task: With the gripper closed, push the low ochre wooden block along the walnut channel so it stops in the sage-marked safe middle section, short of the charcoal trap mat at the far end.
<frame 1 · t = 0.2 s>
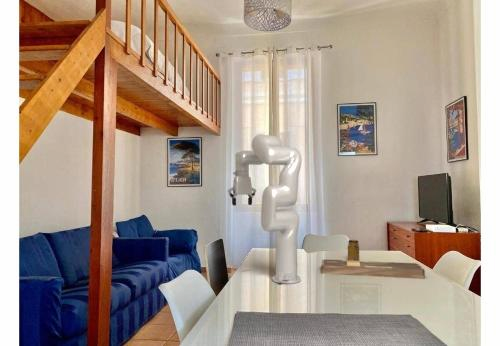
hand: (242, 205, 207), 31 cm above the table, tool pointing down, fingers open, 9 cm apart
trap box: (370, 272, 180), on the table
condiment: (354, 263, 203), on the table
block: (353, 272, 182), resting in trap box
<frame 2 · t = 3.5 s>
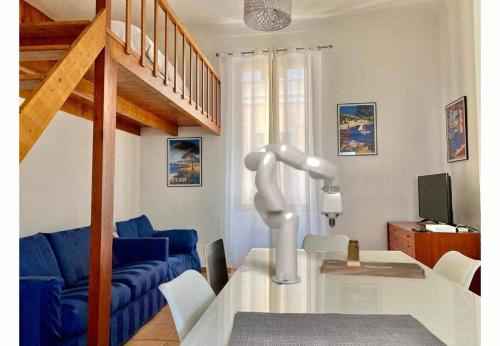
hand: (332, 226, 184), 22 cm above the table, tool pointing down, fingers closed
nothing on the table moved.
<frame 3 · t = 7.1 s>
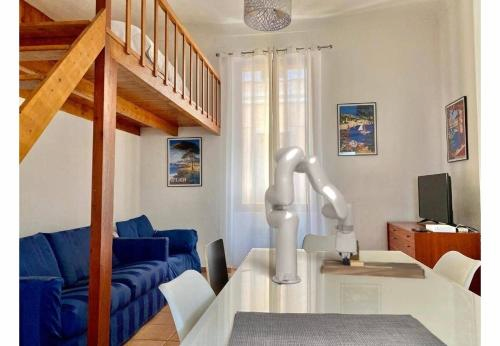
hand: (345, 266, 183), 3 cm above the table, tool pointing down, fingers closed
block: (356, 272, 181), resting in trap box, touching gripper
everything else where it was.
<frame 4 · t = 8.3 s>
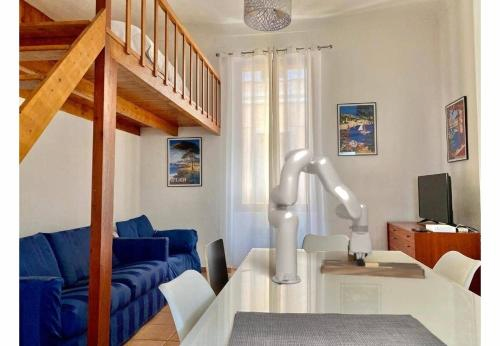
hand: (360, 266, 181), 3 cm above the table, tool pointing down, fingers closed
block: (371, 273, 180), resting in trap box, touching gripper
everything else where it was.
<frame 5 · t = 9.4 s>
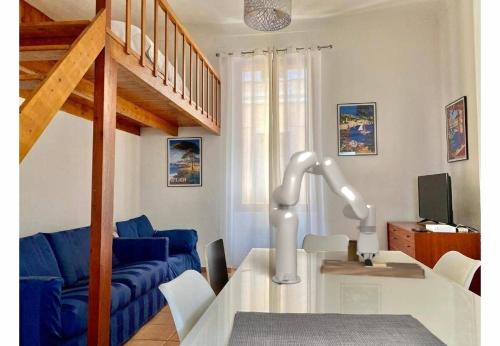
hand: (368, 267, 180), 3 cm above the table, tool pointing down, fingers closed
block: (378, 273, 179), resting in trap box
everything else where it was.
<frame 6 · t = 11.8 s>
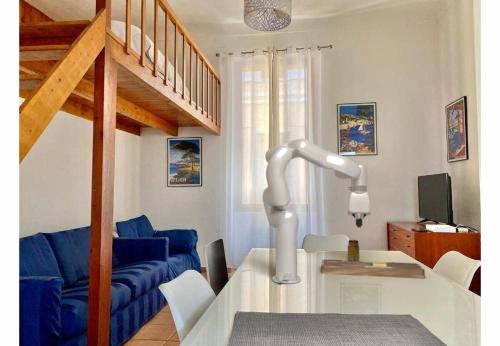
hand: (359, 227, 182), 22 cm above the table, tool pointing down, fingers closed
nothing on the table moved.
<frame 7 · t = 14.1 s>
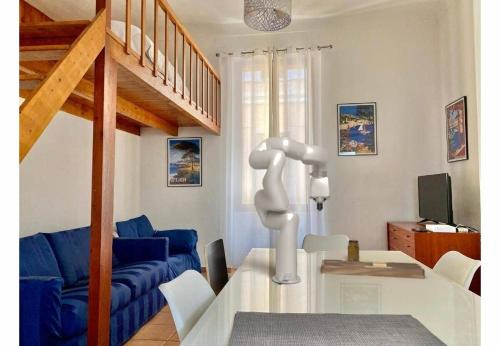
hand: (319, 210, 192), 29 cm above the table, tool pointing down, fingers closed
nothing on the table moved.
at the end: block inside the target area (1.0 cm from its centre), resting in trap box; block tilted 0°; block moved 12.0 cm from its start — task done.
